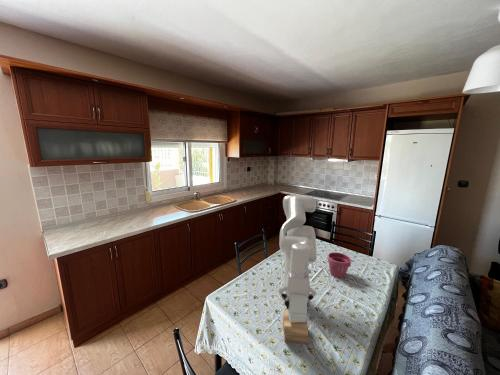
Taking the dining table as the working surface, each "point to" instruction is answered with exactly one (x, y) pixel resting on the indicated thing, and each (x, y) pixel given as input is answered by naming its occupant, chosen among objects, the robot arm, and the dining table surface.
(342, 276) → the plant pot
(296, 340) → the tower base
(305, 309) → the supplement box
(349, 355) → the dining table surface
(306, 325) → the tower top
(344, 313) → the dining table surface
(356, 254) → the dining table surface
